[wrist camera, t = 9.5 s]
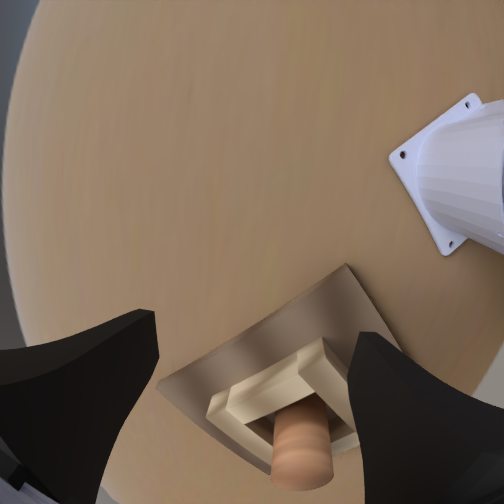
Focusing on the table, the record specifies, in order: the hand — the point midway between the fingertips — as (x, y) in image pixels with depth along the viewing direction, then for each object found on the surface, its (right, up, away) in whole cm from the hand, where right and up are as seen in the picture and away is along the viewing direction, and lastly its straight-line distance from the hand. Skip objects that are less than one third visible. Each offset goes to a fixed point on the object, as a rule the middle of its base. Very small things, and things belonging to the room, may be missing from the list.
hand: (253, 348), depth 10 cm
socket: (+4, -9, +12) cm, 15 cm away
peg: (+4, -9, +11) cm, 15 cm away
